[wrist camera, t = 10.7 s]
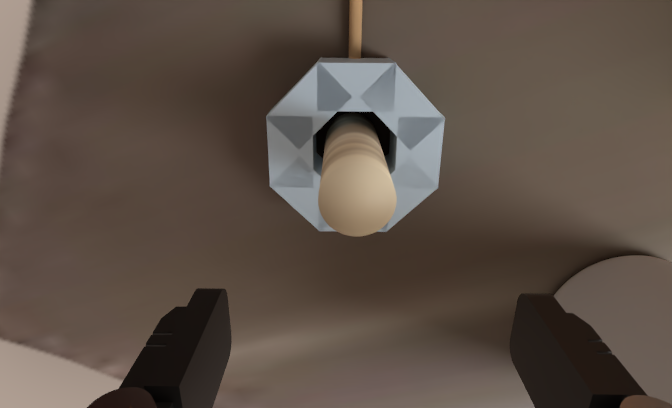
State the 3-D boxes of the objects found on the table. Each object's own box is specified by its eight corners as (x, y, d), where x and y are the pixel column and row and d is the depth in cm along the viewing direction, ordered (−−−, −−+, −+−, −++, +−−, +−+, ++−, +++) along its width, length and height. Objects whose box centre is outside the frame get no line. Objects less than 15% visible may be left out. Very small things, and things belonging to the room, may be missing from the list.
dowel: (325, 112, 31) (317, 163, 20) (377, 113, 31) (398, 163, 20) (326, 162, 32) (318, 236, 21) (375, 163, 32) (394, 236, 21)
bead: (272, 56, 30) (262, 61, 26) (437, 57, 29) (450, 62, 26) (279, 208, 34) (271, 231, 30) (423, 209, 34) (434, 232, 30)
